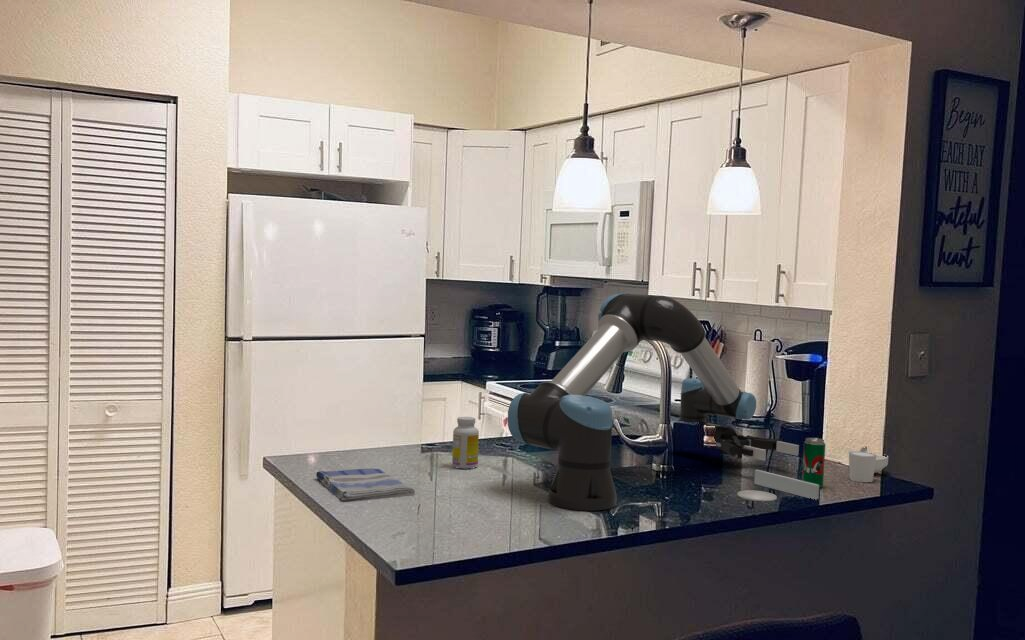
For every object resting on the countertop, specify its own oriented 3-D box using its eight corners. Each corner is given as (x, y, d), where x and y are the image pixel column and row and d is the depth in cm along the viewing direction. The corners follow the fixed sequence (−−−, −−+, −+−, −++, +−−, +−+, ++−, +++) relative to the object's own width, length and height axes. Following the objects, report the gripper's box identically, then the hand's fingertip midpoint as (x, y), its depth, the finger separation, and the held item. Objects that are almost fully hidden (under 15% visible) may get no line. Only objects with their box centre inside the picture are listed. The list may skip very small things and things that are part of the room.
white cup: (877, 484, 226) (879, 457, 226) (849, 482, 227) (851, 455, 227) (872, 478, 233) (873, 452, 232) (845, 476, 234) (846, 450, 234)
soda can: (826, 486, 221) (828, 439, 220) (818, 490, 217) (821, 442, 216) (806, 483, 224) (809, 436, 224) (798, 486, 220) (801, 438, 220)
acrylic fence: (754, 483, 221) (754, 470, 221) (756, 483, 222) (757, 469, 222) (815, 500, 207) (816, 485, 207) (818, 499, 207) (819, 484, 207)
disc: (733, 497, 206) (733, 495, 206) (743, 489, 214) (743, 488, 214) (772, 503, 202) (772, 501, 202) (780, 495, 210) (780, 494, 210)
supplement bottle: (480, 465, 231) (481, 416, 230) (474, 470, 225) (476, 420, 224) (455, 463, 232) (457, 415, 232) (449, 468, 226) (450, 419, 225)
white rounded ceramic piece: (849, 474, 236) (850, 450, 236) (845, 466, 248) (847, 442, 247) (889, 478, 233) (891, 453, 233) (884, 469, 245) (886, 445, 244)
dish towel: (342, 505, 189) (342, 492, 189) (313, 480, 210) (313, 469, 210) (417, 498, 197) (417, 485, 197) (382, 475, 218) (382, 464, 218)
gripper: (746, 448, 253) (810, 462, 236) (686, 456, 238) (749, 472, 221) (748, 422, 252) (811, 434, 235) (688, 428, 238) (751, 442, 221)
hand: (781, 452), depth 228 cm, fingers open, 13 cm apart
